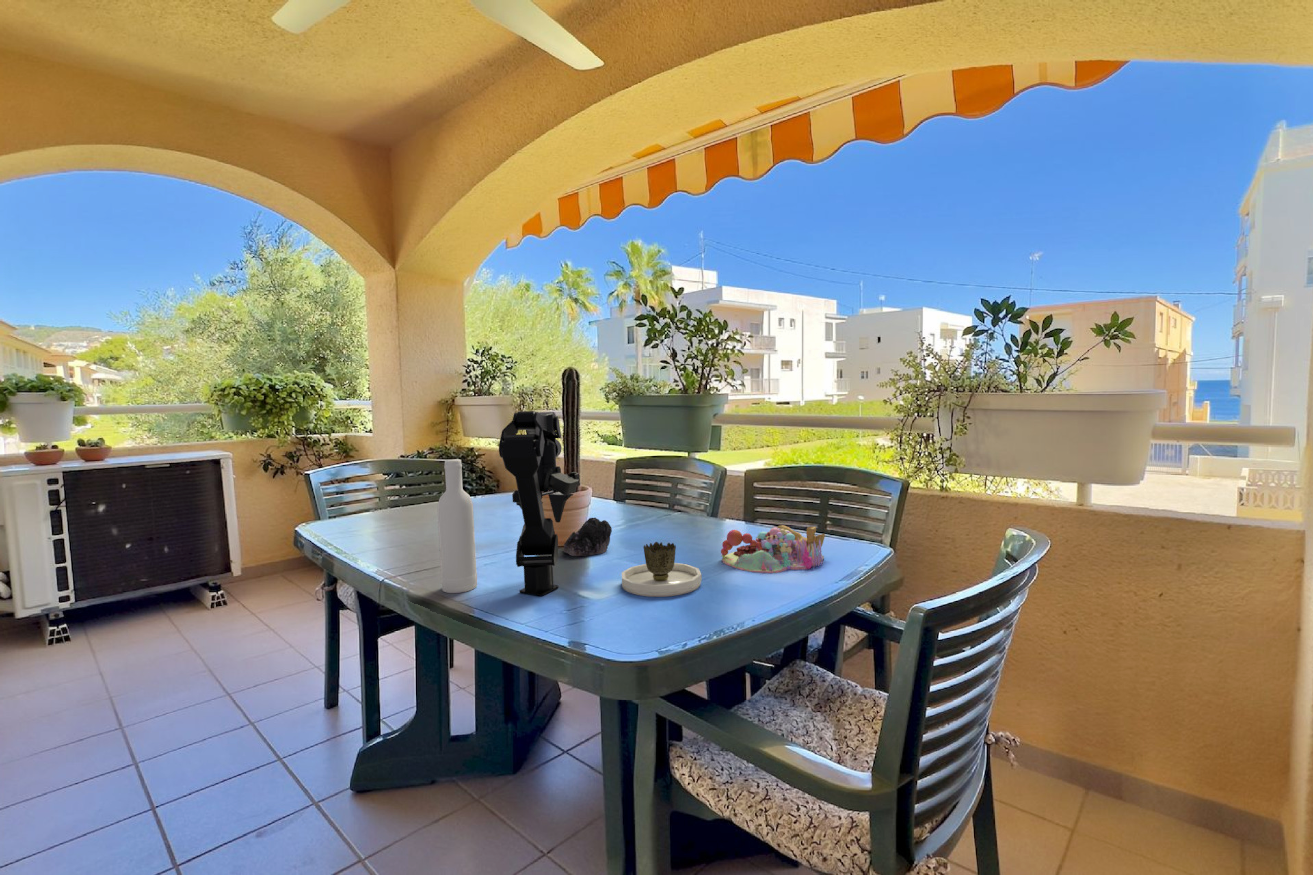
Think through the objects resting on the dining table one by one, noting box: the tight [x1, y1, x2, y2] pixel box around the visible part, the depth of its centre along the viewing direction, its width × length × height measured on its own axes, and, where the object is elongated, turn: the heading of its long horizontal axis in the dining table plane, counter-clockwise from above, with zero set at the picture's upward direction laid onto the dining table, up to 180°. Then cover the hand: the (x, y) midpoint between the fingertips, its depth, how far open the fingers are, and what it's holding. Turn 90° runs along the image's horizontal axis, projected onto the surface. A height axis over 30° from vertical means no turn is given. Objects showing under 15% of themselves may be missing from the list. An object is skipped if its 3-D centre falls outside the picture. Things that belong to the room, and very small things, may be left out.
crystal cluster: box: [563, 517, 613, 557], centre depth 171 cm, size 14×14×10 cm
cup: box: [642, 541, 677, 581], centre depth 138 cm, size 8×7×8 cm
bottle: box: [436, 458, 478, 594], centre depth 139 cm, size 8×8×30 cm
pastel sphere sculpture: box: [720, 524, 826, 574], centre depth 155 cm, size 25×24×9 cm
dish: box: [621, 562, 703, 598], centre depth 138 cm, size 18×18×2 cm
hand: (547, 525), depth 149 cm, fingers open, 9 cm apart
